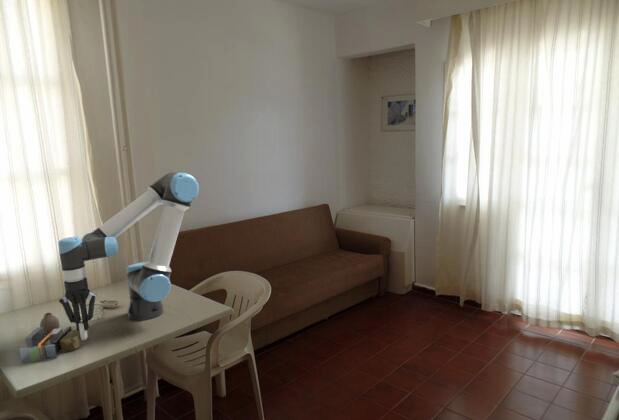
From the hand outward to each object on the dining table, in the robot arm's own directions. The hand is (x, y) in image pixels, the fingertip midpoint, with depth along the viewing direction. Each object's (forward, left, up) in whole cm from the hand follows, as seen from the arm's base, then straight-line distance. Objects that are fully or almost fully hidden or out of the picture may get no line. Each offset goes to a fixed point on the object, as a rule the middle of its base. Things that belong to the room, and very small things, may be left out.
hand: (84, 338), depth 163 cm
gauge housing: (+12, +2, -2) cm, 13 cm away
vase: (+18, -14, -3) cm, 23 cm away
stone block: (+4, -1, -3) cm, 5 cm away
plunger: (+9, +2, -2) cm, 10 cm away
